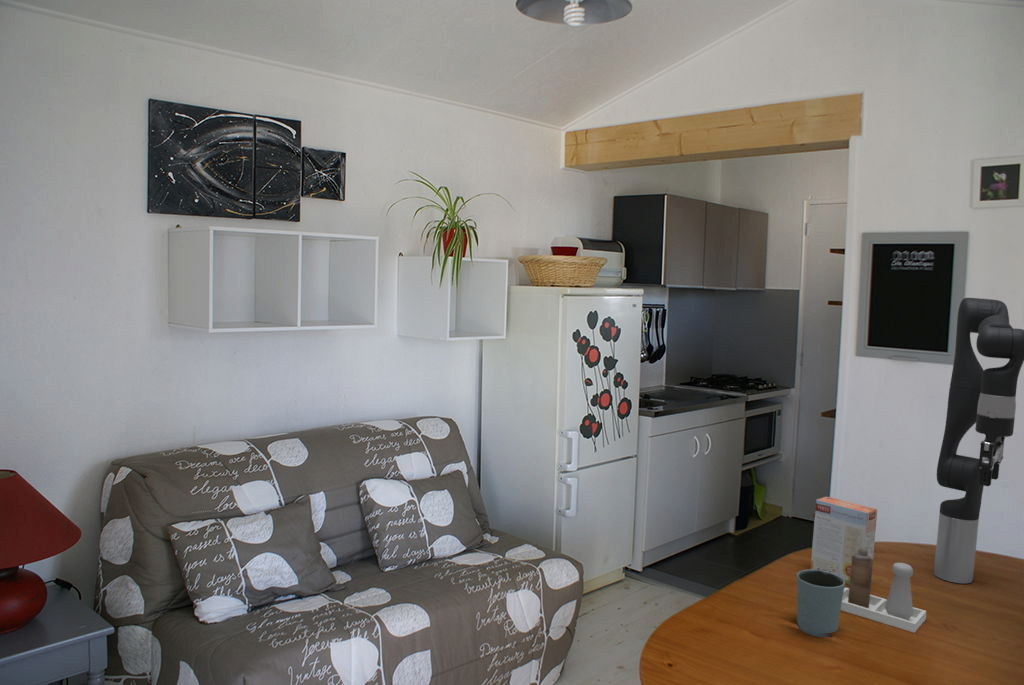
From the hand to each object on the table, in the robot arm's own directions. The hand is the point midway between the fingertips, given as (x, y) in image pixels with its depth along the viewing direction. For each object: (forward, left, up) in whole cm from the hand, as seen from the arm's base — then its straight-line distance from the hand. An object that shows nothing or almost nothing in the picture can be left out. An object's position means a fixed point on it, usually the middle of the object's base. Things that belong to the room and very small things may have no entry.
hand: (988, 482), depth 185 cm
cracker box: (+1, -31, -33) cm, 46 cm away
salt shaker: (+17, -13, -32) cm, 39 cm away
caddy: (+17, -17, -33) cm, 41 cm away
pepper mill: (+17, -21, -32) cm, 42 cm away
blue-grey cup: (+34, -25, -33) cm, 54 cm away
